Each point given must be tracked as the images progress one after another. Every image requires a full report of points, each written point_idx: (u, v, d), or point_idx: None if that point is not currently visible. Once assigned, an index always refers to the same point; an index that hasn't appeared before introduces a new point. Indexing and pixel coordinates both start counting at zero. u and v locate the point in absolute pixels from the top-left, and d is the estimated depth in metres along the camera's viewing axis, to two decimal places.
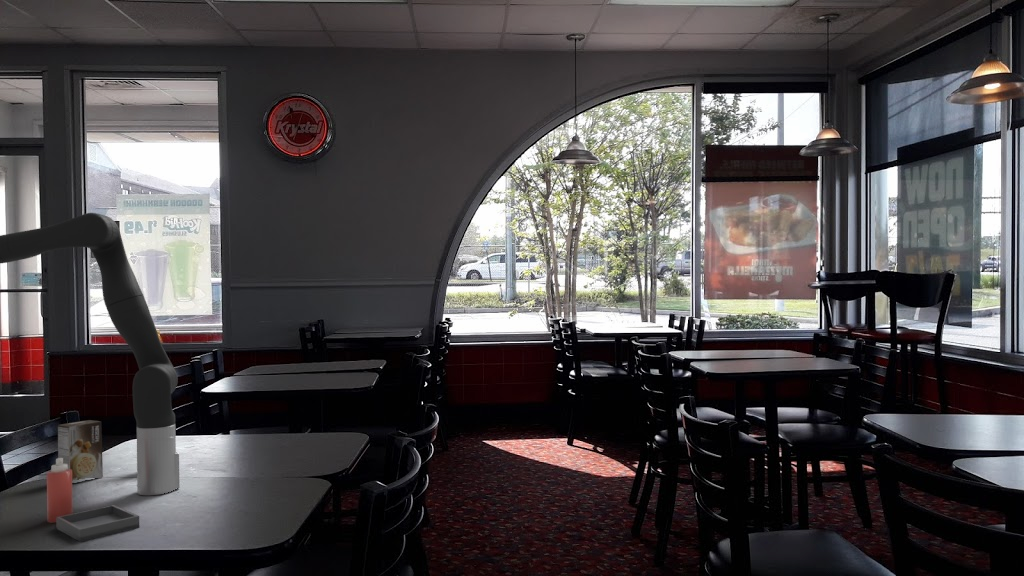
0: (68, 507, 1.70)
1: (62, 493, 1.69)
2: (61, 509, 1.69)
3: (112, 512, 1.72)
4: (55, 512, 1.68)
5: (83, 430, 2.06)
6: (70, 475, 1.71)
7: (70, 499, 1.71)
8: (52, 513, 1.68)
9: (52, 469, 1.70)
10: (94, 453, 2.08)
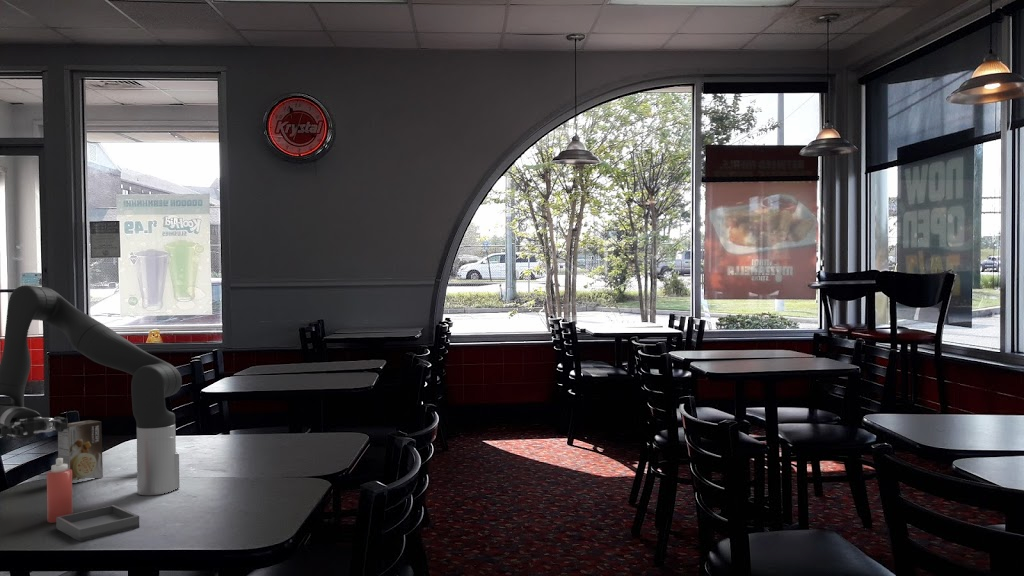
0: (68, 507, 1.70)
1: (62, 493, 1.69)
2: (61, 509, 1.69)
3: (112, 512, 1.72)
4: (55, 512, 1.68)
5: (83, 430, 2.06)
6: (70, 475, 1.71)
7: (70, 499, 1.71)
8: (52, 513, 1.68)
9: (52, 469, 1.70)
10: (94, 453, 2.08)
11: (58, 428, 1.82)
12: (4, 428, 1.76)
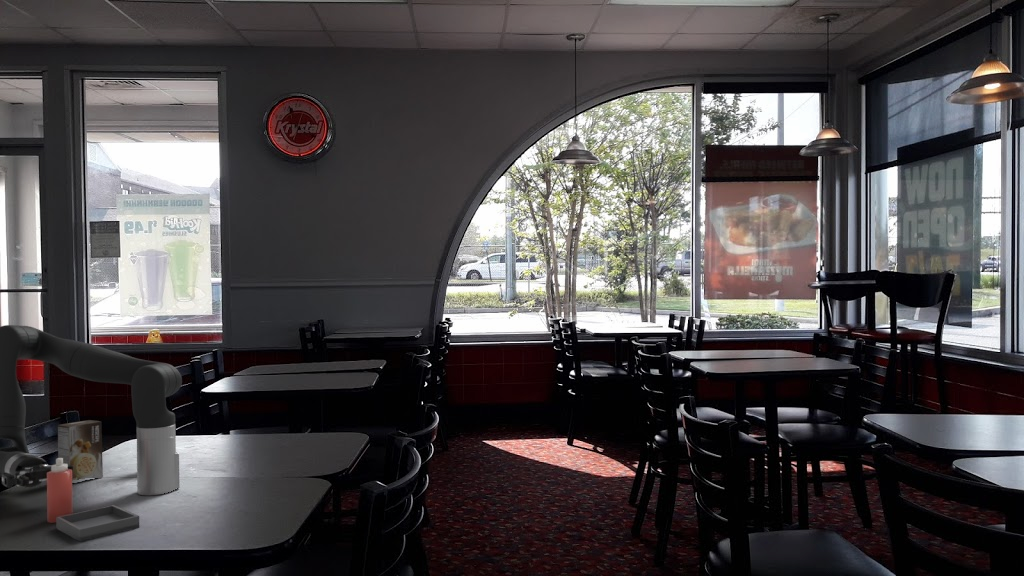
0: (68, 507, 1.70)
1: (62, 493, 1.69)
2: (61, 509, 1.69)
3: (112, 512, 1.72)
4: (55, 512, 1.68)
5: (83, 430, 2.06)
6: (70, 475, 1.71)
7: (70, 499, 1.71)
8: (52, 513, 1.68)
9: (52, 469, 1.70)
10: (94, 453, 2.08)
11: None
12: (9, 478, 1.74)
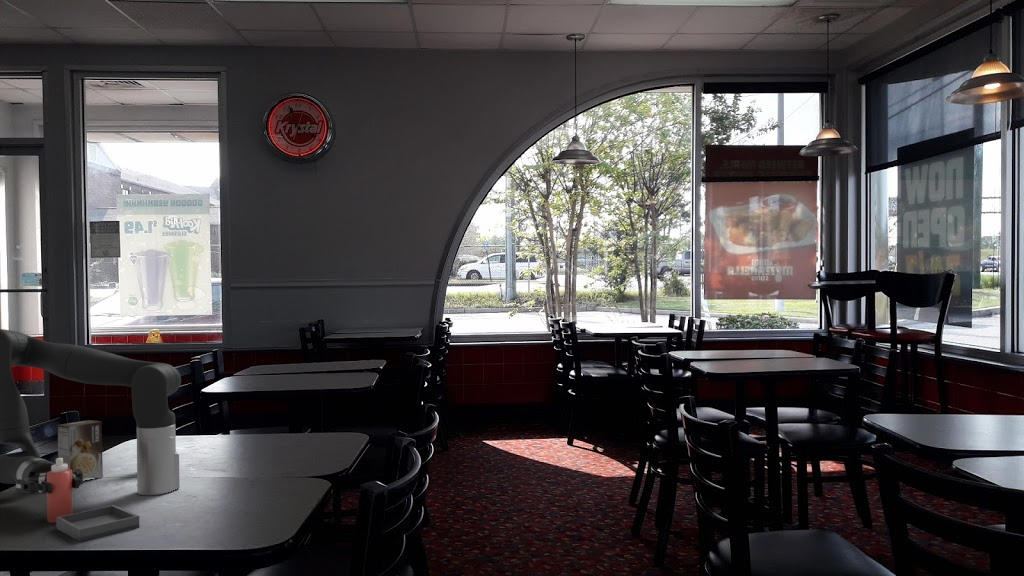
0: (68, 507, 1.70)
1: (62, 493, 1.69)
2: (61, 509, 1.69)
3: (112, 512, 1.72)
4: (55, 512, 1.68)
5: (83, 430, 2.06)
6: (70, 475, 1.71)
7: (70, 499, 1.71)
8: (52, 513, 1.68)
9: (52, 469, 1.70)
10: (94, 453, 2.08)
11: (73, 484, 1.72)
12: (32, 484, 1.68)
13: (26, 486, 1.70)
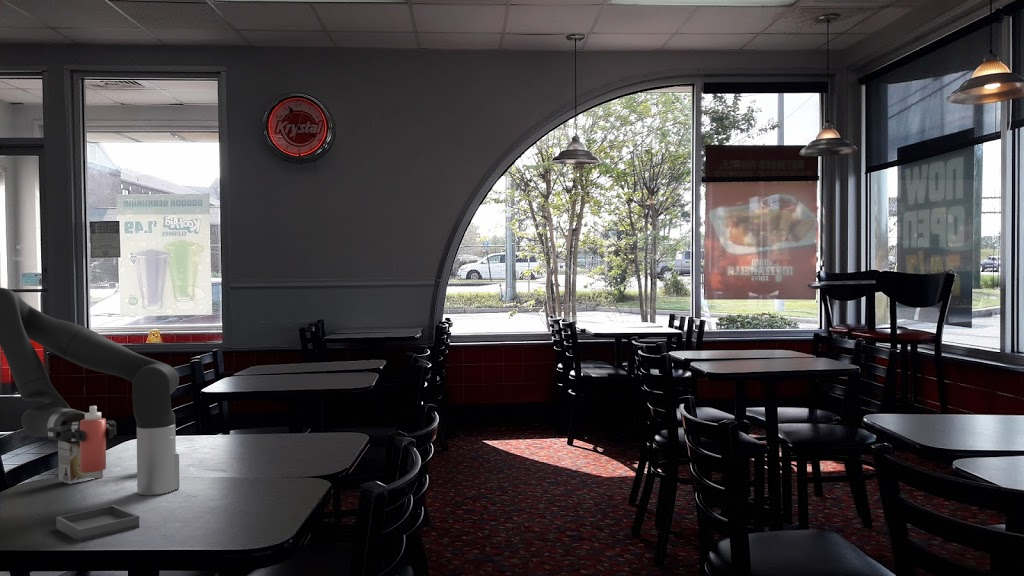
0: (101, 457, 1.63)
1: (96, 442, 1.62)
2: (95, 459, 1.62)
3: (112, 512, 1.72)
4: (88, 462, 1.62)
5: None
6: (104, 424, 1.64)
7: (103, 449, 1.64)
8: (85, 462, 1.62)
9: (85, 417, 1.63)
10: None
11: (107, 434, 1.65)
12: (65, 432, 1.62)
13: (58, 434, 1.63)
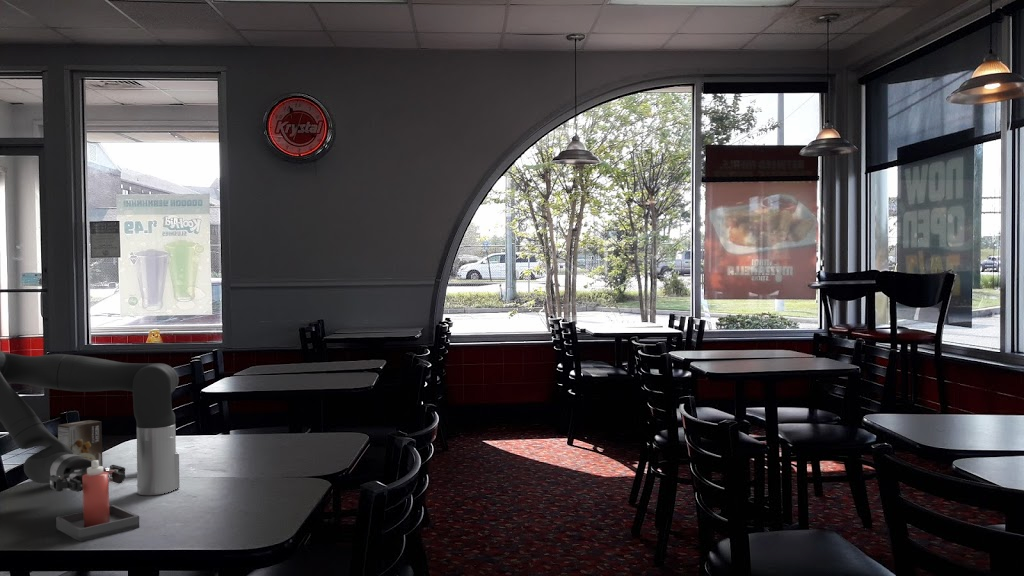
0: (104, 511, 1.63)
1: (99, 497, 1.62)
2: (98, 514, 1.62)
3: (112, 512, 1.72)
4: (92, 517, 1.61)
5: (83, 430, 2.06)
6: (106, 478, 1.64)
7: (107, 503, 1.64)
8: (88, 517, 1.61)
9: (88, 472, 1.63)
10: (94, 453, 2.08)
11: (116, 479, 1.67)
12: (59, 482, 1.61)
13: None
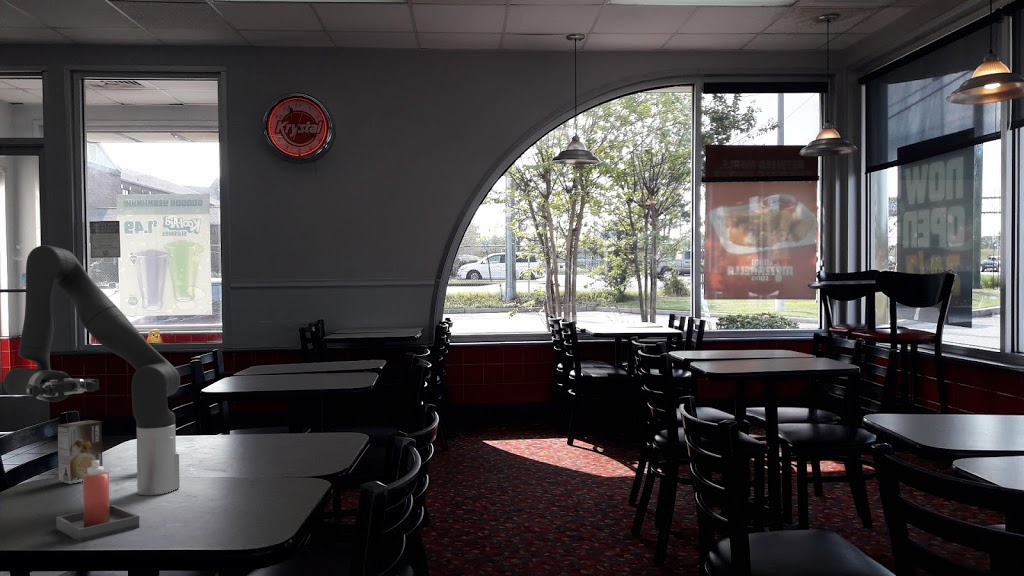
0: (105, 511, 1.63)
1: (99, 497, 1.62)
2: (99, 514, 1.62)
3: (112, 512, 1.72)
4: (92, 517, 1.61)
5: (83, 430, 2.06)
6: (107, 478, 1.64)
7: (107, 503, 1.64)
8: (88, 517, 1.61)
9: (88, 472, 1.63)
10: (94, 453, 2.08)
11: (90, 388, 1.77)
12: (35, 388, 1.71)
13: None
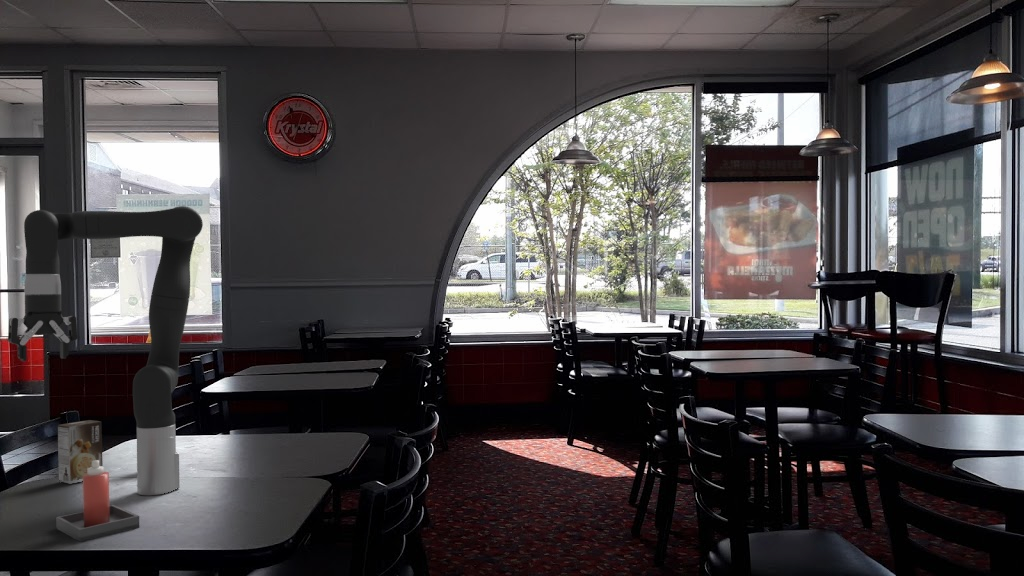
0: (105, 511, 1.63)
1: (99, 497, 1.62)
2: (99, 514, 1.62)
3: (112, 512, 1.72)
4: (92, 517, 1.61)
5: (83, 430, 2.06)
6: (107, 478, 1.64)
7: (107, 503, 1.64)
8: (89, 517, 1.61)
9: (88, 472, 1.63)
10: (94, 453, 2.08)
11: (61, 352, 1.84)
12: (13, 343, 1.75)
13: None
